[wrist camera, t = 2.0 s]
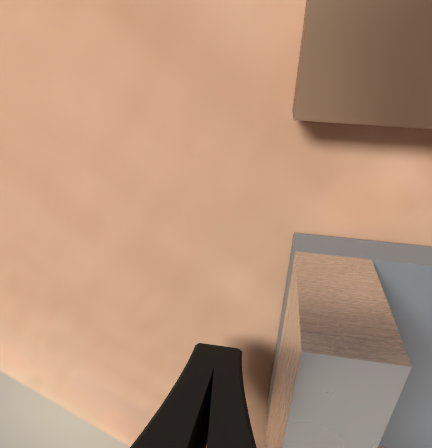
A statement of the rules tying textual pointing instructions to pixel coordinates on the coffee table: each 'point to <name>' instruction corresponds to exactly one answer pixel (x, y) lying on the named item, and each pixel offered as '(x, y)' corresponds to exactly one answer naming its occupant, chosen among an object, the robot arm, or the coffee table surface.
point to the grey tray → (353, 347)
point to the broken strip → (366, 63)
